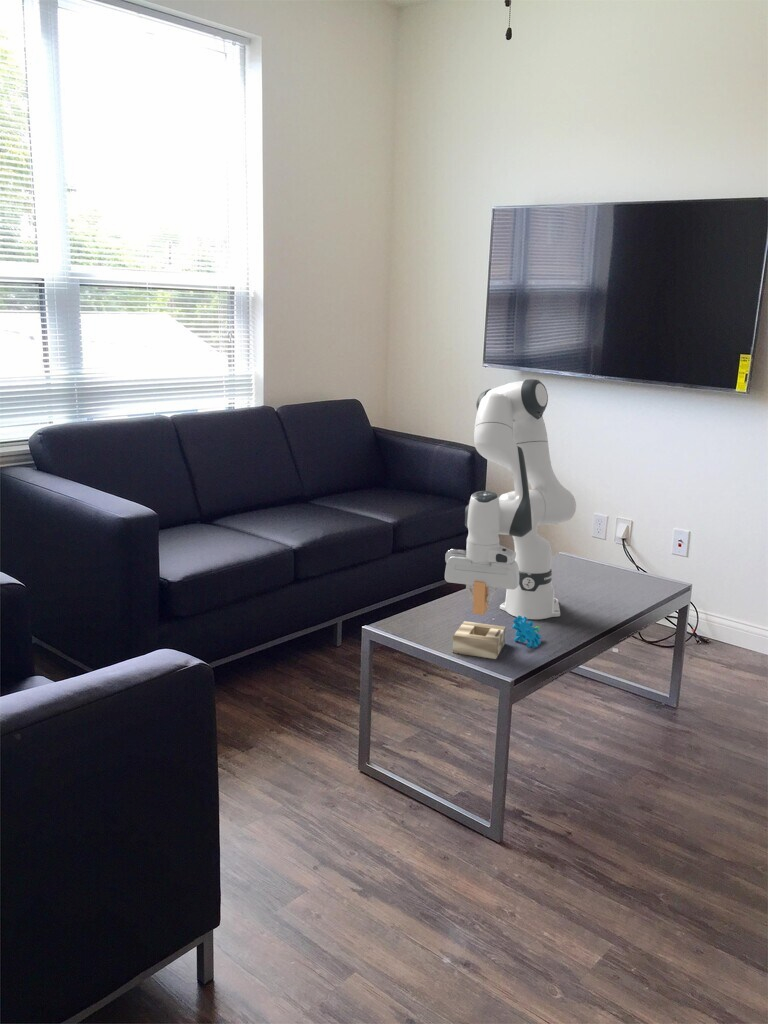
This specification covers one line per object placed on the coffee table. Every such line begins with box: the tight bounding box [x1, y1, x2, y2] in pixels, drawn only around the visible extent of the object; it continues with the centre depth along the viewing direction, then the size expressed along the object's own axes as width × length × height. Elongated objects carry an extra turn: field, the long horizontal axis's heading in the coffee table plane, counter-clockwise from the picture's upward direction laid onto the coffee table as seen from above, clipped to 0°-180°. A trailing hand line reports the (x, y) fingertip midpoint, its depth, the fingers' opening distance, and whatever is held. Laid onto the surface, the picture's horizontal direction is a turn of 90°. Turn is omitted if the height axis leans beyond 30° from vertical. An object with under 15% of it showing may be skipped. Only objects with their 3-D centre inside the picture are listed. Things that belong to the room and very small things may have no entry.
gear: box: [512, 616, 542, 649], centre depth 244 cm, size 11×6×10 cm
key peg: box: [472, 581, 490, 616], centre depth 236 cm, size 3×5×9 cm, turn 161°
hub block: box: [452, 620, 507, 660], centre depth 239 cm, size 12×12×5 cm
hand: (480, 600), depth 237 cm, fingers closed on key peg, 3 cm apart
